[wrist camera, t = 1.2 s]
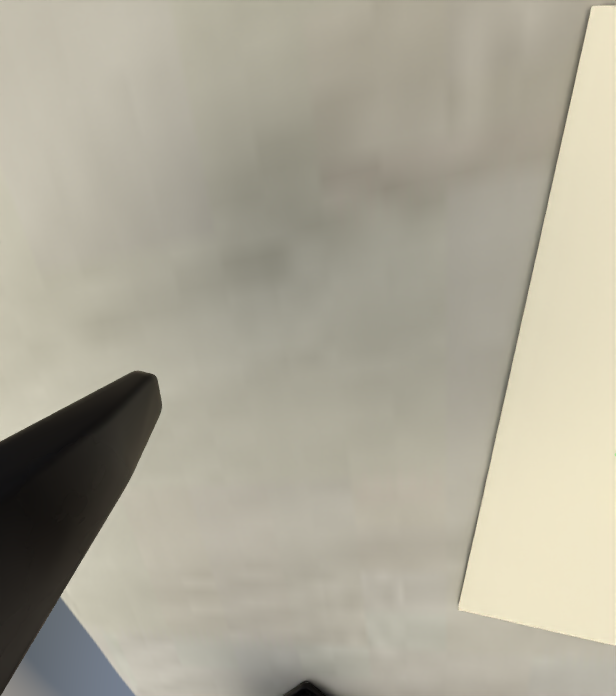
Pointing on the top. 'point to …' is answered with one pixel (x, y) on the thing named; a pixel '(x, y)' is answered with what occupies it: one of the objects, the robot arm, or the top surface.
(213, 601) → the top surface
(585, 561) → the printed paper
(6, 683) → the robot arm
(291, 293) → the top surface
